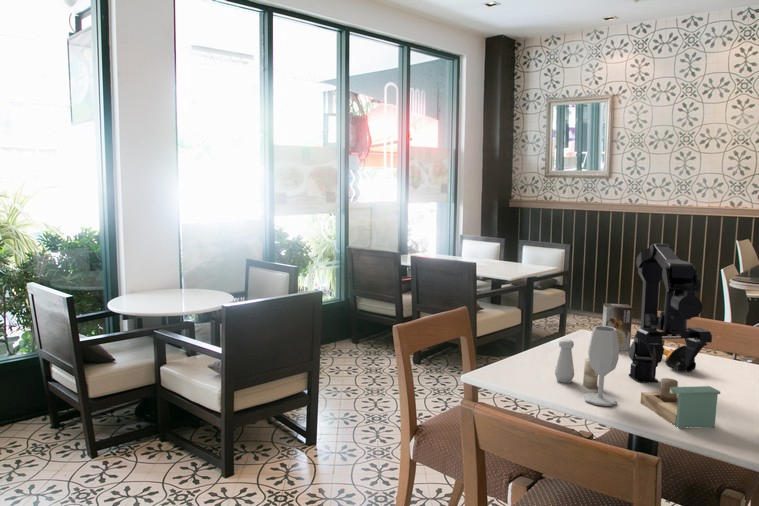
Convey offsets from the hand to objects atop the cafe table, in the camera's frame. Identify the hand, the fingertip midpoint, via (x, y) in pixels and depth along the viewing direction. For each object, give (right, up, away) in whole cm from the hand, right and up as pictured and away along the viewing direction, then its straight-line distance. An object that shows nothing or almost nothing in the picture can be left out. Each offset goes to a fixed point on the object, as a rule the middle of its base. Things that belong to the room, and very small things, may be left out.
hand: (671, 366), depth 164 cm
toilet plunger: (+20, -8, +40) cm, 46 cm away
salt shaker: (-22, -9, +23) cm, 33 cm away
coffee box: (+8, -5, +61) cm, 62 cm away
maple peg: (-15, -10, +19) cm, 26 cm away
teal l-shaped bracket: (+1, -13, -9) cm, 16 cm away
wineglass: (-17, -11, +7) cm, 21 cm away
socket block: (0, -12, -1) cm, 12 cm away
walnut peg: (0, -12, +2) cm, 12 cm away
